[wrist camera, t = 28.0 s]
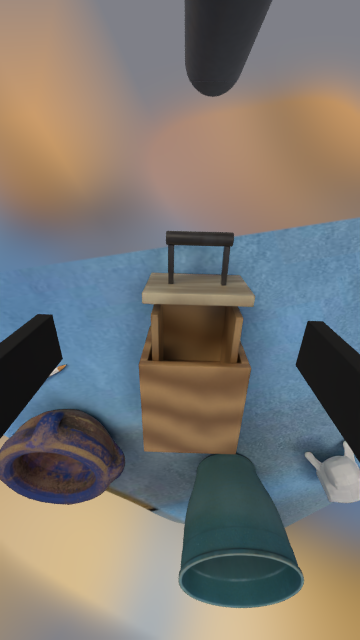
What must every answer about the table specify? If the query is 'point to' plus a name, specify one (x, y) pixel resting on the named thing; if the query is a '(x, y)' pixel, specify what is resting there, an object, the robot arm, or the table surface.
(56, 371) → the pencil
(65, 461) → the bowl
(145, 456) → the table surface
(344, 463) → the white turtle figurine
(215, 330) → the drawer
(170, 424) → the cabinet
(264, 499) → the flower pot
